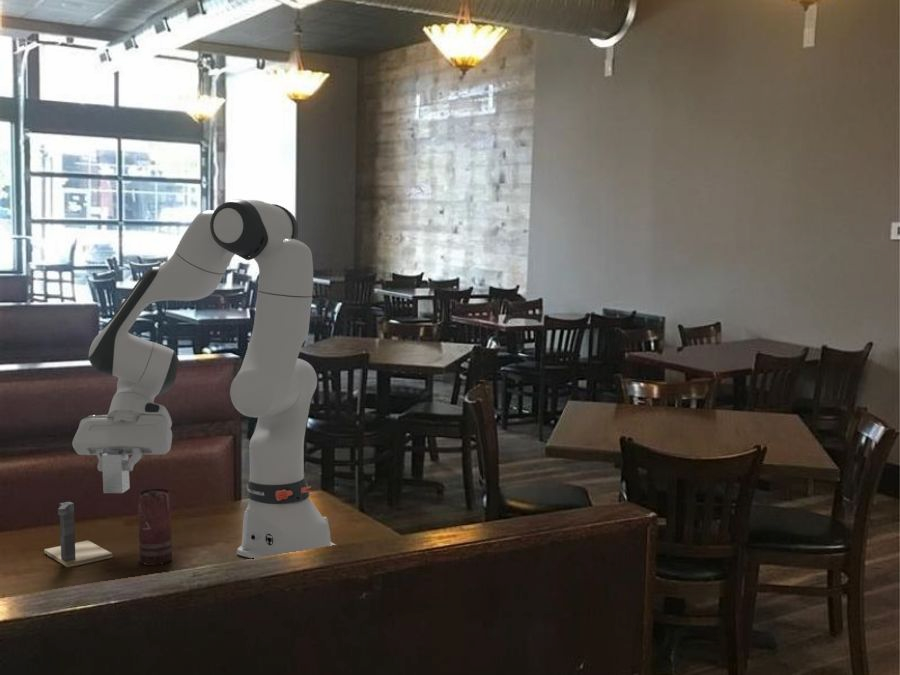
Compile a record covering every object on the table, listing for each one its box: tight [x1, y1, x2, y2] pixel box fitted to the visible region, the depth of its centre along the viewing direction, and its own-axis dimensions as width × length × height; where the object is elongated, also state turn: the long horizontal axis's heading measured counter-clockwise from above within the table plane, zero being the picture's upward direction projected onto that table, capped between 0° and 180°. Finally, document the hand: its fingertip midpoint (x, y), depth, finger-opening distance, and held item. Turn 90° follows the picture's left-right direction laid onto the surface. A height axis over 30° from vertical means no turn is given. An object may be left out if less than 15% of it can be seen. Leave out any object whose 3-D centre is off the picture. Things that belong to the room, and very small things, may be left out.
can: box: [137, 488, 173, 565], centre depth 189 cm, size 6×6×14 cm
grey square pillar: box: [101, 449, 131, 494], centre depth 199 cm, size 4×4×9 cm
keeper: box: [43, 501, 114, 568], centre depth 191 cm, size 13×11×12 cm
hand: (114, 469), depth 198 cm, fingers closed on grey square pillar, 4 cm apart
